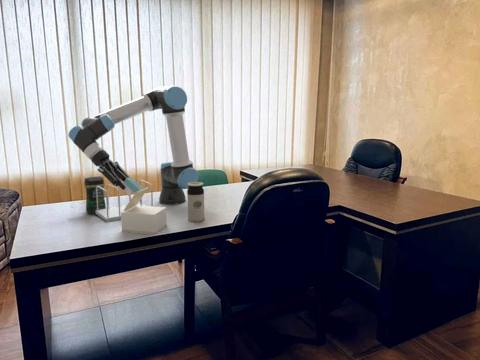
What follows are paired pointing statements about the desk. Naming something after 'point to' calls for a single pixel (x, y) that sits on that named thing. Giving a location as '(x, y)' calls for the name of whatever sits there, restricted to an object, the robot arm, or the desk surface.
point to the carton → (144, 219)
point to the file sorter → (115, 212)
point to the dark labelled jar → (195, 201)
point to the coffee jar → (94, 194)
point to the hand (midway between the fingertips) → (133, 192)
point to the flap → (138, 192)
